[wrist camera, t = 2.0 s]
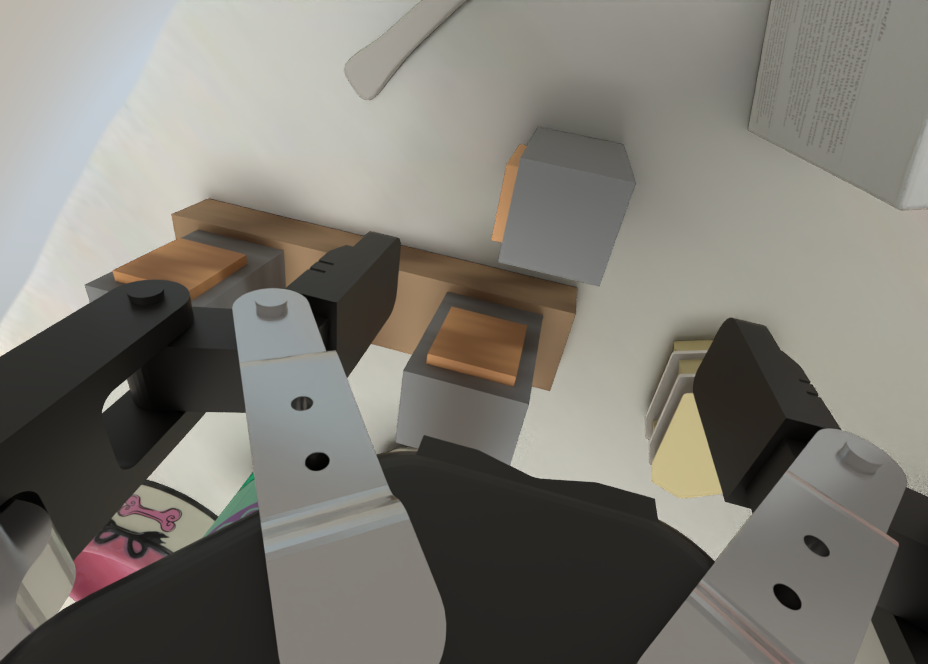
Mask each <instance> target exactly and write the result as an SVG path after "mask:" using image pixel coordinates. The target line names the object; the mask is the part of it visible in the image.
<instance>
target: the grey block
mask: <svg viewBox="0 0 928 664" xmlns="http://www.w3.org/2000/svg"><path fill="white" fill-rule="evenodd" d="M635 184H636V182H635V179H634V175H633V172H632V169H631V166H630V163H629V160H628V157H627V154H626V151H625V148H624V145H623V144H619V143H614V142H609V141H604V140H599V139H595V138H590V137H585V136H580V135H576V134H571V133H566V132H561V131H557V130H552V129H547V128H542V127H538V128H537V130H536V131H535V133H534V135H533V137H532V138H531V140H530V142H529V144H528V145H527V146H526V145H521V144H520V145H519V146H518V148H517V149H516V151H515V152H514V154H513V155H512V157H511V158H510V160H509V161H508V163H507V165H506V170H505V175H504V180H503V185H502V190H501V195H500V200H499V205H498V210H497V215H496V220H495V225H494V230H493V234H492V239H491V240H493V241H497V242H501V243H502V245H501V250H500V255H499V259H498V262H499V263H504V264H508V265H512V266H516V267H520V268H524V269H529V270H533V271H537V272H541V273H545V274H549V275H553V276H558V277H562V278H566V279H570V280H574V281H578V282H583V283H587V284H591V285H595V286H600V283H601V280H602V277H603V274H604V272H605V269H606V266H607V263H608V260H609V257H610V255H611V252H612V249H613V246H614V243H615V240H616V238H617V235H618V232H619V229H620V226H621V224H622V221H623V218H624V215H625V212H626V209H627V207H628V204H629V201H630V198H631V195H632V192H633V190H634V187H635Z"/></svg>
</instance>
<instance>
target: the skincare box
mask: <svg viewBox="0 0 928 664" xmlns="http://www.w3.org/2000/svg"><path fill="white" fill-rule="evenodd" d="M748 130H749V131H750V132H752V133H754V134H756V135H758V136H760V137H762V138H764V139H766V140H767V141H769V142H771V143H773V144H775V145H777V146H779V147H781V148H783V149H785V150H787V151H788V152H790V153H792V154H794V155H796V156H798V157H800V158H802V159H803V160H806V161H807V162H809V163H811V164H813V165H815V166H817V167H819V168H821V169H823V170H825V171H827V172H829V173H831V174H832V175H834V176H836V177H838V178H840V179H842V180H844V181H846V182H848V183H850V184H852V185H854V186H855V187H858V188H860V189H862V190H864V191H866V192H868V193H869V194H871V195H873V196H874V197H876V198H878V199H880V200H882V201H884V202H886V203H888V204H890V205H891V206H893V207H895V208H897V209H899V210H918V209H928V0H771V5H770V10H769V15H768V21H767V26H766V32H765V38H764V43H763V48H762V55H761V61H760V66H759V71H758V77H757V83H756V89H755V94H754V100H753V105H752V111H751V116H750V122H749V127H748Z"/></svg>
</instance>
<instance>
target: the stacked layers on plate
mask: <svg viewBox="0 0 928 664" xmlns="http://www.w3.org/2000/svg"><path fill="white" fill-rule="evenodd" d="M712 342H713V340H697V341H674V350H673V352H672V354H671V356H670V359H669V361H668V364H667V366H666V368H665V371H664V373H663V376H662V378H661V380H660V383H659V385H658V388H657V390H656V392H655V395H654V397H653V400H652V402H651V404H650V407H649V409H648V412H647V414H646V416H645V436H646V439H648V440H650V441H649V463H650V465H652V482H653V483H655V484H656V485H658V486H660V487H661V488H663V489H665V490H666V491H668V492H670V493H671V494H673V495H675V496H676V497H678V498H692V497H700V496H708V495H715V494H723V493H722V490H721V486H720V483H719V479H718V476H717V473H716V469H715V466H714V463H713V459H712V456H711V453H710V449H709V446H708V442H707V439H706V436H705V432H704V429H703V426H702V422H701V419H700V416H699V412H698V409H697V405H696V402H695V399H694V395H693V382H694V377H695V374H696V372H697V369H698V367H699V366H700V364H701V362H702V360H703V358H704V356H705V355H706V353H707V351H708V349H709V347H710V345H711V344H712Z"/></svg>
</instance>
